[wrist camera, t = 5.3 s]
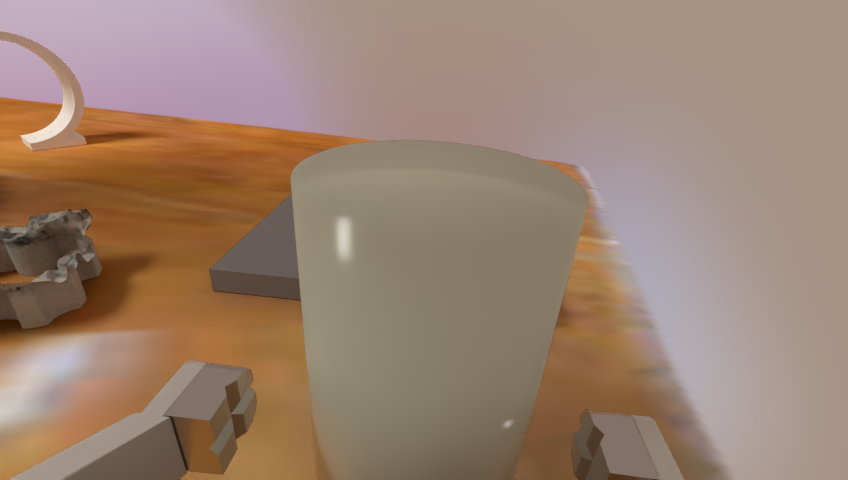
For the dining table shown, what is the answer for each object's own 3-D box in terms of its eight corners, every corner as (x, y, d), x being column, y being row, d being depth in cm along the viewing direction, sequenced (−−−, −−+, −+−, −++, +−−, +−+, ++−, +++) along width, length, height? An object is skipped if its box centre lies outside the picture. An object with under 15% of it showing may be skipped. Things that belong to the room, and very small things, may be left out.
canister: (286, 504, 14) (236, 162, 9) (413, 408, 18) (435, 131, 12) (404, 685, 10) (449, 286, 5) (532, 515, 14) (637, 187, 9)
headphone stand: (22, 142, 48) (-21, 27, 43) (85, 135, 52) (53, 30, 47) (32, 151, 45) (-13, 29, 40) (97, 143, 50) (64, 32, 44)
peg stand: (213, 290, 25) (199, 222, 23) (319, 182, 42) (317, 139, 40) (549, 327, 24) (567, 259, 21) (513, 201, 41) (521, 157, 39)
